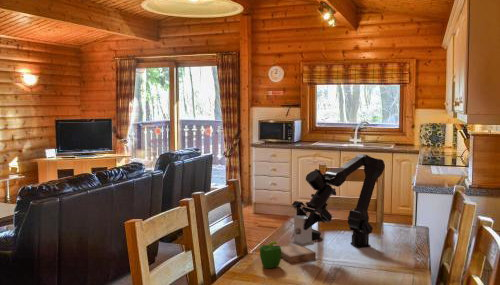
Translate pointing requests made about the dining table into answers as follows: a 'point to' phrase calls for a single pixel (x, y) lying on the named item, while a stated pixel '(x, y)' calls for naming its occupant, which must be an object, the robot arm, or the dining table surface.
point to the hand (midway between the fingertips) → (300, 228)
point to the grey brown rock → (313, 234)
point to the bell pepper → (270, 255)
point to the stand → (297, 253)
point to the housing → (302, 231)
